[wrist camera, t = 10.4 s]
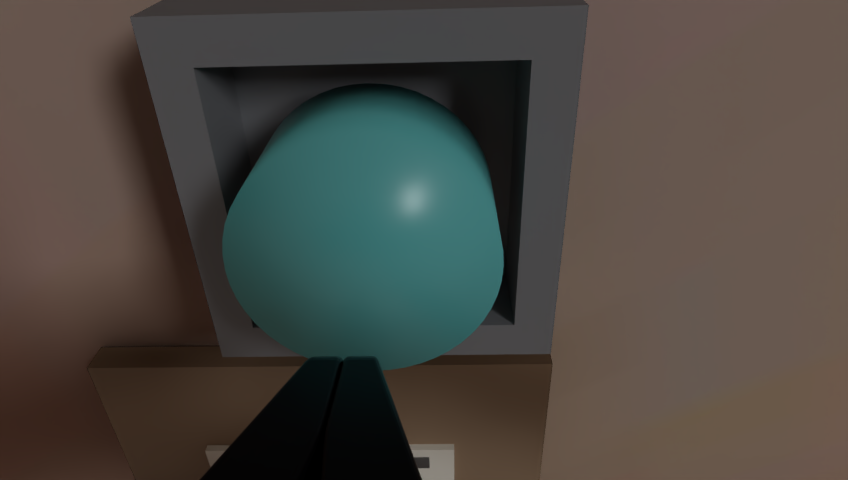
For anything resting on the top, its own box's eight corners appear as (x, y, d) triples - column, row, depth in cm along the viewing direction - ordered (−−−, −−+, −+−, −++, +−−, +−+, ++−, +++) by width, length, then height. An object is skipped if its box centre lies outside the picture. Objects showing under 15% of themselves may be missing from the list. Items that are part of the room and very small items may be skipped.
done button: (488, 288, 13) (498, 369, 11) (279, 291, 13) (249, 371, 11) (496, 80, 10) (509, 133, 8) (239, 86, 10) (192, 140, 8)
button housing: (533, 281, 15) (550, 354, 13) (253, 285, 15) (222, 356, 13) (559, -24, 11) (588, 4, 9) (188, -13, 12) (130, 16, 9)
